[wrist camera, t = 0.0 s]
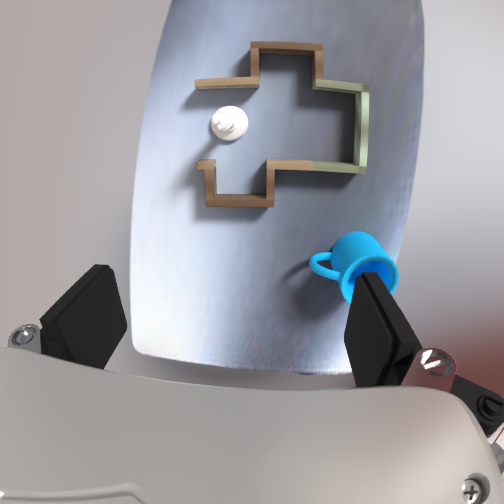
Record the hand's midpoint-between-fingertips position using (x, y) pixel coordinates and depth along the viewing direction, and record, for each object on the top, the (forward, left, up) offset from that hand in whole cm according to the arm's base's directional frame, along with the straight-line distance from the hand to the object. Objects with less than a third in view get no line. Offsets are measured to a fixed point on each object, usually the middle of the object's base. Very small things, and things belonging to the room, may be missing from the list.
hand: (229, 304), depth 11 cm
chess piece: (-7, -4, -31) cm, 32 cm away
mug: (+12, +13, -32) cm, 36 cm away
